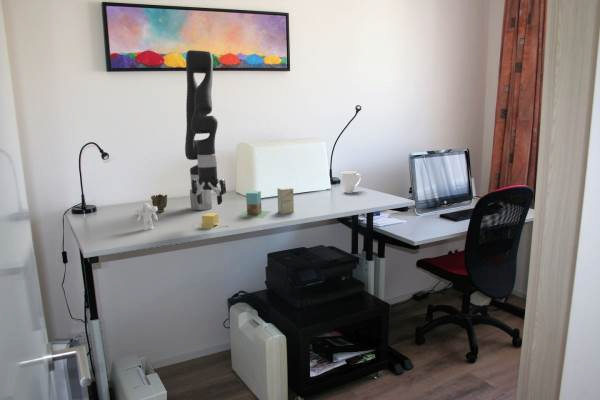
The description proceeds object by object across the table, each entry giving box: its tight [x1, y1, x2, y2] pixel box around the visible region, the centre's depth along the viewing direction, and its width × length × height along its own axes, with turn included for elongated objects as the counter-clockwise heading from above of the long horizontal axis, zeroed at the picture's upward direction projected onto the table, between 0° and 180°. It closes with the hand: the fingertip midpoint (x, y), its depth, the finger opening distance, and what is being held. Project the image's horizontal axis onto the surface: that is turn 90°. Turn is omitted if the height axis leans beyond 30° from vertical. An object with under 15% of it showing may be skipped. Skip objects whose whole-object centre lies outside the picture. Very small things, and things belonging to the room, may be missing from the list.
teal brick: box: [245, 190, 262, 205], centre depth 211 cm, size 5×5×5 cm
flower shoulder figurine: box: [134, 200, 159, 231], centre depth 195 cm, size 9×4×12 cm, turn 112°
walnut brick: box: [246, 201, 263, 215], centre depth 212 cm, size 5×5×5 cm
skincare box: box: [277, 186, 295, 215], centre depth 214 cm, size 6×4×12 cm
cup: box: [150, 193, 168, 213], centre depth 225 cm, size 8×7×8 cm
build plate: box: [237, 209, 272, 219], centre depth 212 cm, size 12×12×1 cm
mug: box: [340, 170, 362, 194], centre depth 259 cm, size 12×8×11 cm
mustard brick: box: [201, 212, 219, 229], centre depth 198 cm, size 5×5×5 cm
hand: (209, 204), depth 197 cm, fingers open, 8 cm apart
